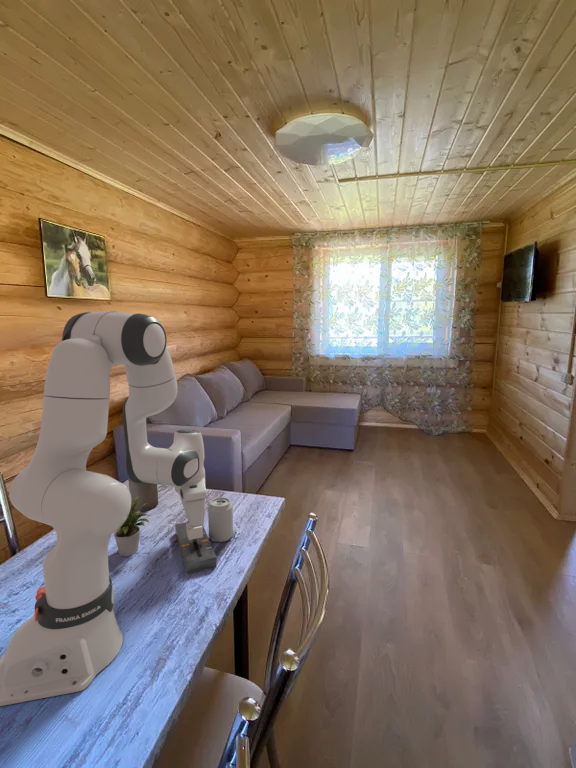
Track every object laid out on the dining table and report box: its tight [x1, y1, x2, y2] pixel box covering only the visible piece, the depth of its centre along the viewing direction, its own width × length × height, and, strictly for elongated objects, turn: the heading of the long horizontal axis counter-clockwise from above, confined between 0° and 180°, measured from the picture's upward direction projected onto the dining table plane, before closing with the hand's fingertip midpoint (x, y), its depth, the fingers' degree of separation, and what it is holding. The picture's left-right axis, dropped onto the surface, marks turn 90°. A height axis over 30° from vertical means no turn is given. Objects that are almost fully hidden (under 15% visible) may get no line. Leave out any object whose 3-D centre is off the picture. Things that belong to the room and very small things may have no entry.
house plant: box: [113, 495, 151, 557], centre depth 110 cm, size 14×14×16 cm
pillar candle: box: [127, 476, 159, 512], centre depth 139 cm, size 10×10×15 cm
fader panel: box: [174, 521, 217, 575], centre depth 113 cm, size 8×22×3 cm, turn 24°
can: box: [207, 496, 234, 543], centre depth 119 cm, size 8×8×12 cm
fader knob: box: [186, 523, 203, 542], centre depth 111 cm, size 4×4×5 cm
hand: (191, 526), depth 115 cm, fingers closed
